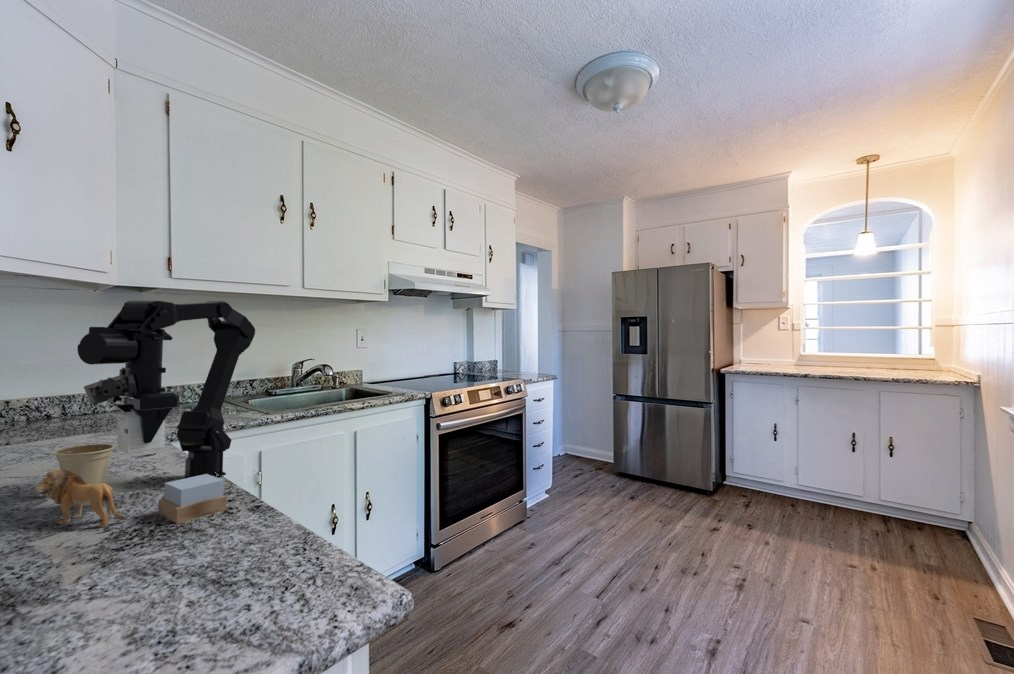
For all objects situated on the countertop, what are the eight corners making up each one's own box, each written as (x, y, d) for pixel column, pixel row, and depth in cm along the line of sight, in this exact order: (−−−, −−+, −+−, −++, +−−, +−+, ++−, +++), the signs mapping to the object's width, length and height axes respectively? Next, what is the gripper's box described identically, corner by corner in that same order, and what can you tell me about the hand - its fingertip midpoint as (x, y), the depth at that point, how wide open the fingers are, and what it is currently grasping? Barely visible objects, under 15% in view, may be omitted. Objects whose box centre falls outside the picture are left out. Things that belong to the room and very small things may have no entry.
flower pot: (83, 497, 89) (85, 454, 89) (38, 496, 89) (40, 453, 89) (125, 483, 98) (126, 444, 98) (83, 481, 98) (85, 443, 98)
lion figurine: (26, 527, 74) (29, 473, 75) (58, 515, 80) (60, 465, 80) (114, 528, 75) (116, 475, 75) (139, 516, 80) (141, 466, 80)
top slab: (206, 488, 88) (206, 473, 88) (223, 495, 84) (223, 479, 84) (164, 499, 82) (164, 482, 82) (180, 506, 78) (181, 489, 78)
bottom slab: (206, 503, 88) (206, 488, 88) (225, 512, 84) (226, 496, 84) (158, 516, 81) (158, 499, 81) (176, 526, 77) (177, 509, 77)
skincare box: (116, 450, 87) (116, 412, 87) (153, 444, 92) (154, 409, 92) (126, 454, 83) (127, 415, 84) (165, 448, 88) (165, 411, 89)
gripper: (75, 361, 86) (72, 441, 86) (106, 365, 76) (103, 455, 76) (145, 360, 96) (143, 432, 95) (181, 364, 85) (178, 444, 85)
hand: (141, 440), depth 88 cm, fingers closed on skincare box, 6 cm apart
